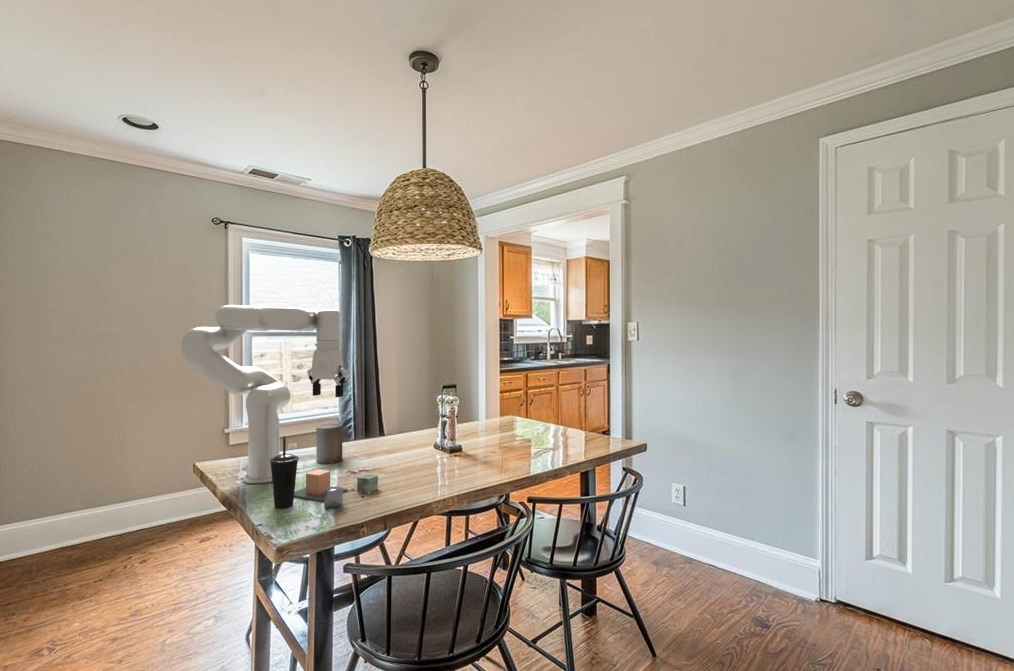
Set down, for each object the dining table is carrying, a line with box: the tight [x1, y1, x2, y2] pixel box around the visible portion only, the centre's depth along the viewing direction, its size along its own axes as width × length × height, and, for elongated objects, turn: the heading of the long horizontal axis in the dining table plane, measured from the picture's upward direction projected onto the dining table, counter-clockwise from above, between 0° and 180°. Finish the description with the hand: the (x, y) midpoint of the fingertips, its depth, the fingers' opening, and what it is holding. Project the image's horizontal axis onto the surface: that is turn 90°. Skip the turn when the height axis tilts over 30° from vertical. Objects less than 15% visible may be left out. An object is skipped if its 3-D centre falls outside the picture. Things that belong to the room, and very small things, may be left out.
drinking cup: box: [270, 435, 300, 510], centre depth 139 cm, size 8×8×20 cm
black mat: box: [294, 485, 348, 503], centre depth 150 cm, size 13×11×1 cm
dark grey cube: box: [323, 485, 344, 510], centre depth 139 cm, size 5×5×5 cm
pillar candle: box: [315, 421, 344, 465], centre depth 188 cm, size 10×10×15 cm
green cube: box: [356, 473, 379, 493], centre depth 154 cm, size 4×4×4 cm
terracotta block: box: [305, 468, 331, 495], centre depth 150 cm, size 5×5×6 cm
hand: (327, 396), depth 165 cm, fingers open, 9 cm apart
